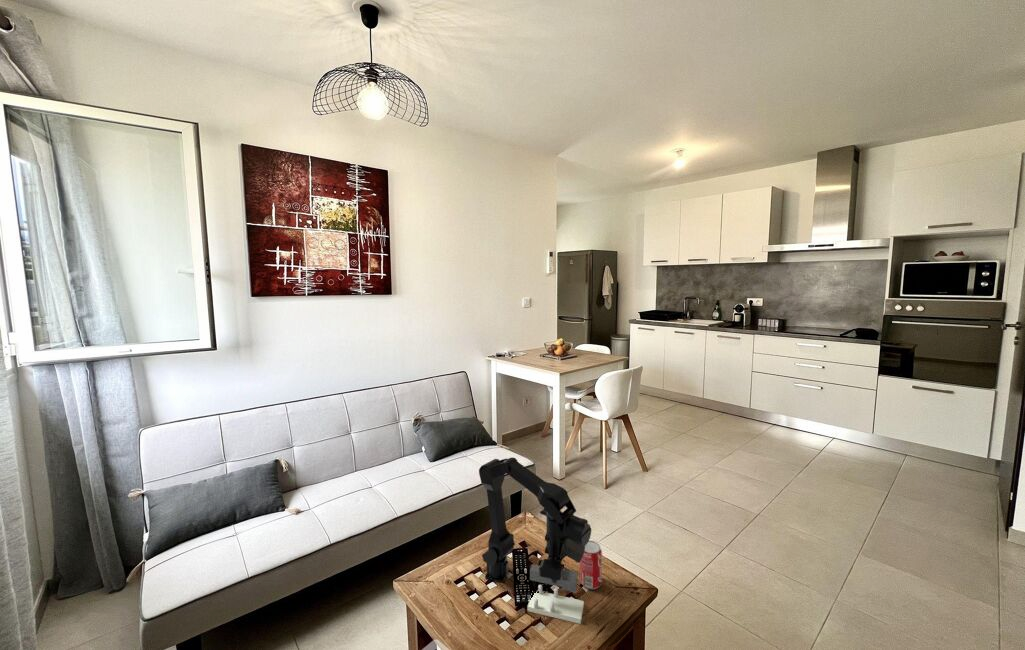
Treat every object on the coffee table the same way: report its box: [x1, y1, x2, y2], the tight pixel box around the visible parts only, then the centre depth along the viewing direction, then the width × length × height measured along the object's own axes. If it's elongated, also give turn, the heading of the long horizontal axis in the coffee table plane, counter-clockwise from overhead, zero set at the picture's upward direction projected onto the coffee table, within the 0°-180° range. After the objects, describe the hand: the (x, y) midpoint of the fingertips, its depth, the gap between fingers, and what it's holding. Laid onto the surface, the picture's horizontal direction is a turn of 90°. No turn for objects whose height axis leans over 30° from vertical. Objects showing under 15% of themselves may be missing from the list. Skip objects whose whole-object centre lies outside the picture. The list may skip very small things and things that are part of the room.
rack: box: [526, 584, 585, 625], centre depth 124 cm, size 16×7×4 cm, turn 73°
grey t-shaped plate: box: [529, 563, 579, 593], centre depth 124 cm, size 14×5×3 cm, turn 73°
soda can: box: [579, 539, 603, 590], centre depth 134 cm, size 7×7×13 cm
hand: (555, 579), depth 124 cm, fingers closed on grey t-shaped plate, 3 cm apart
